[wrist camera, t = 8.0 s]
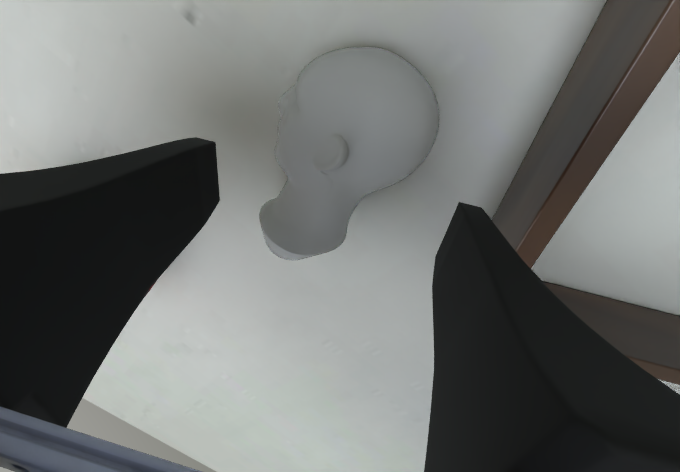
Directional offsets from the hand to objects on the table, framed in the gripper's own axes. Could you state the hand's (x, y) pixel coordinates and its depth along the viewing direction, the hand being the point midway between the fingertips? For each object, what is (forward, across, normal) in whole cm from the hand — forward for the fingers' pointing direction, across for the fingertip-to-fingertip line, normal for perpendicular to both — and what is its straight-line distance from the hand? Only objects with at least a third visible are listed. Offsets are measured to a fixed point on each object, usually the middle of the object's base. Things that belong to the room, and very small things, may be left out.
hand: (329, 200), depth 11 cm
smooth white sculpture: (+5, +1, 0) cm, 5 cm away
